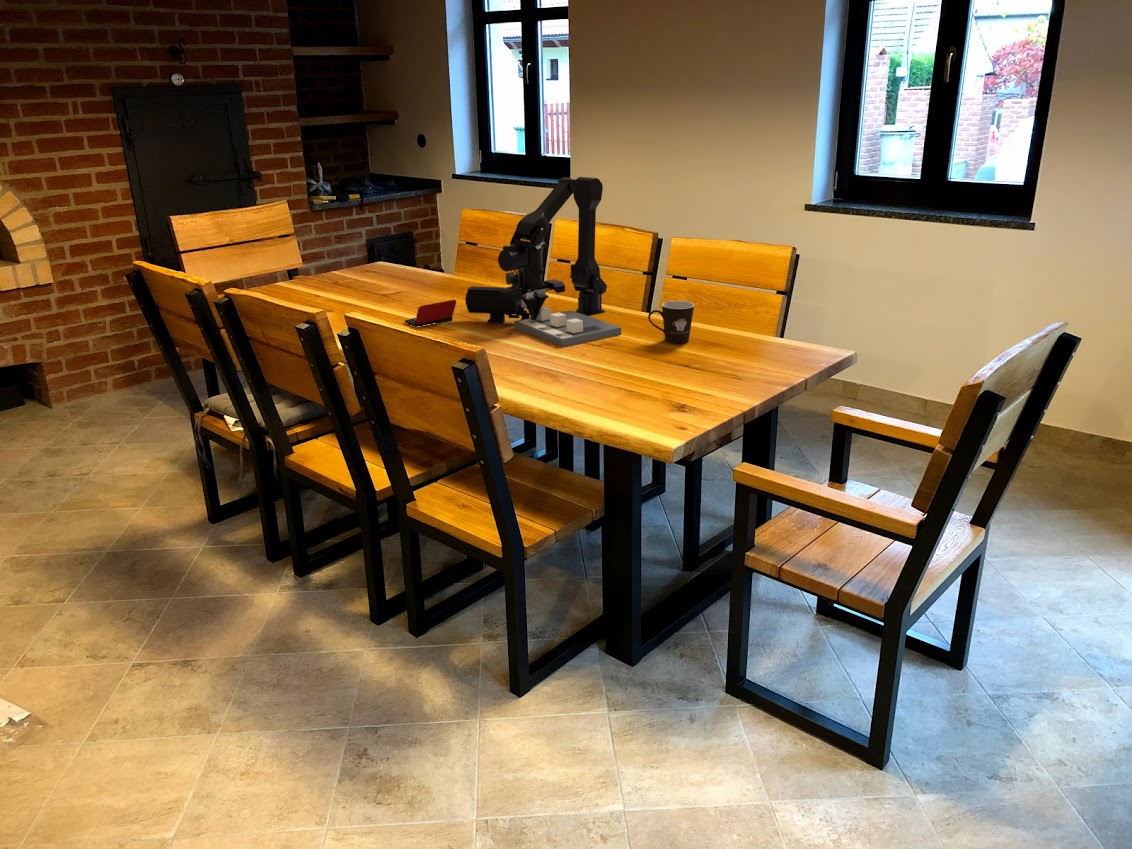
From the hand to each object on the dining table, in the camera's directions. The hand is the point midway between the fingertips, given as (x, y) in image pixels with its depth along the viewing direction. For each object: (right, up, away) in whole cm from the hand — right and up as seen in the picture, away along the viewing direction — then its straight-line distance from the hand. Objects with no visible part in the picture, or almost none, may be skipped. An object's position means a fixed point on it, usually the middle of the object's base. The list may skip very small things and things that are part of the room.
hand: (533, 319), depth 258 cm
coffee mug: (+38, -7, -12) cm, 40 cm away
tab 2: (+7, -2, -4) cm, 9 cm away
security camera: (-10, 0, +8) cm, 13 cm away
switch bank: (+9, -3, -2) cm, 10 cm away
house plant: (-6, +7, +26) cm, 27 cm away
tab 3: (+12, -4, -11) cm, 16 cm away
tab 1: (+3, 0, +2) cm, 3 cm away
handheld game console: (-30, -1, +8) cm, 31 cm away
